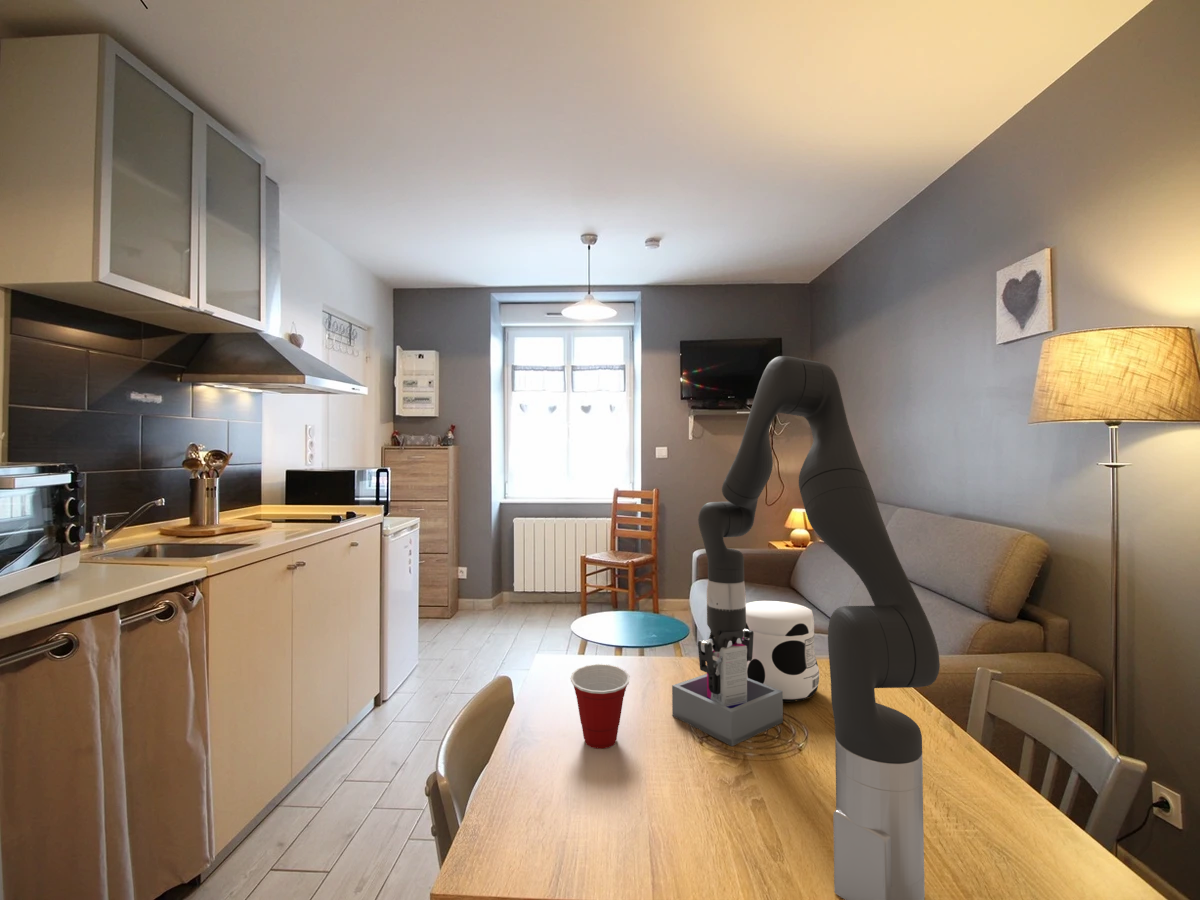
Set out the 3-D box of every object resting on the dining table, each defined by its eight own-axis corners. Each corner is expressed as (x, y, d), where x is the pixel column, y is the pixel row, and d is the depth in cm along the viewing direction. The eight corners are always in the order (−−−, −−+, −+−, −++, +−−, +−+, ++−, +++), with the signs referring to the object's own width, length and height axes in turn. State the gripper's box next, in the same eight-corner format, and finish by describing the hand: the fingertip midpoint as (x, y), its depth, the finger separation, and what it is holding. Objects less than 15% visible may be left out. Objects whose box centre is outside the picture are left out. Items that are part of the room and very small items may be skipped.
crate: (731, 746, 99) (731, 712, 99) (672, 715, 111) (672, 685, 111) (782, 722, 108) (782, 691, 108) (722, 696, 120) (722, 668, 120)
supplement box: (748, 704, 108) (747, 645, 108) (723, 710, 106) (722, 649, 106) (730, 693, 113) (729, 636, 114) (705, 699, 111) (705, 641, 111)
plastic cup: (572, 759, 95) (571, 688, 95) (569, 729, 106) (569, 665, 106) (635, 755, 96) (634, 685, 96) (625, 726, 107) (625, 663, 107)
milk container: (729, 676, 131) (729, 599, 132) (804, 676, 131) (803, 599, 131) (746, 708, 114) (745, 620, 115) (832, 709, 113) (830, 620, 114)
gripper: (716, 613, 103) (716, 704, 102) (764, 601, 111) (765, 685, 111) (686, 604, 109) (687, 691, 108) (735, 594, 117) (735, 674, 117)
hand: (727, 688), depth 110 cm, fingers closed on supplement box, 6 cm apart
